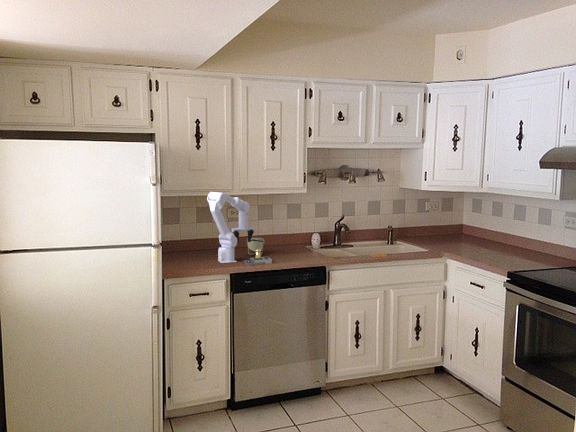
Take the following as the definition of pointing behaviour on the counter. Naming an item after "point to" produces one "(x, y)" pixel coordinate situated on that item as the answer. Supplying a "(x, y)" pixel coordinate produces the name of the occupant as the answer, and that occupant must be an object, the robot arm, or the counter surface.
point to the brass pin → (258, 254)
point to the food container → (255, 245)
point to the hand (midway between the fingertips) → (243, 242)
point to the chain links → (258, 261)
